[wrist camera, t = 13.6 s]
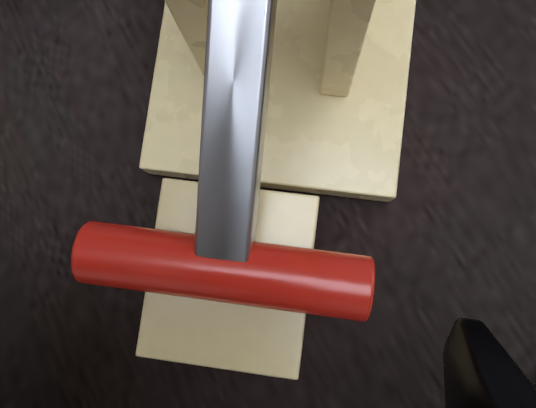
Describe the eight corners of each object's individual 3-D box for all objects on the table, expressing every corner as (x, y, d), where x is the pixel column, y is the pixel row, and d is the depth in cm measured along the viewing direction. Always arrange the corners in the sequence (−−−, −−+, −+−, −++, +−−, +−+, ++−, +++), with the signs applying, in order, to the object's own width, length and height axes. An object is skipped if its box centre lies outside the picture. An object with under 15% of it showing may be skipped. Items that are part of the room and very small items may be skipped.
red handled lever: (360, 292, 11) (370, 350, 9) (108, 259, 12) (55, 305, 9) (456, -307, 8) (508, -456, 6) (111, -319, 9) (34, -460, 6)
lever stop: (299, 332, 17) (298, 381, 10) (199, 318, 18) (134, 356, 11) (312, 220, 18) (319, 196, 11) (215, 209, 18) (161, 177, 11)
